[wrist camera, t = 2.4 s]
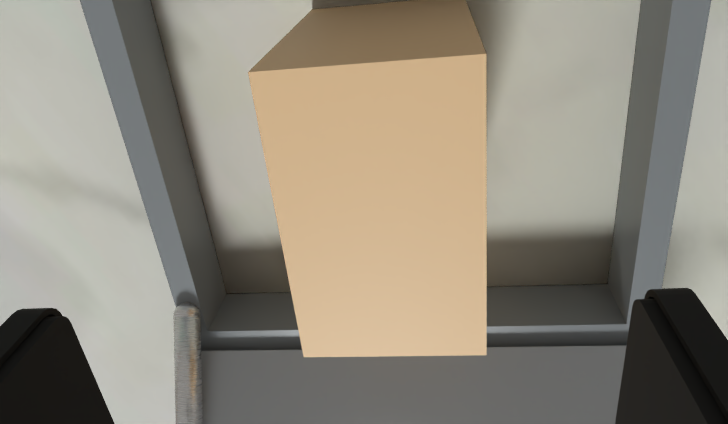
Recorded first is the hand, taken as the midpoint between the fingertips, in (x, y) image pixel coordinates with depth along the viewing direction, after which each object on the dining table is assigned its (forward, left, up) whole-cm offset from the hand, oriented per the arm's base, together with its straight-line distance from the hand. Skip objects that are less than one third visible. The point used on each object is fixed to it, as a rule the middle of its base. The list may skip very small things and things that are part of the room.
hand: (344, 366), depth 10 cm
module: (0, 0, -13) cm, 13 cm away
